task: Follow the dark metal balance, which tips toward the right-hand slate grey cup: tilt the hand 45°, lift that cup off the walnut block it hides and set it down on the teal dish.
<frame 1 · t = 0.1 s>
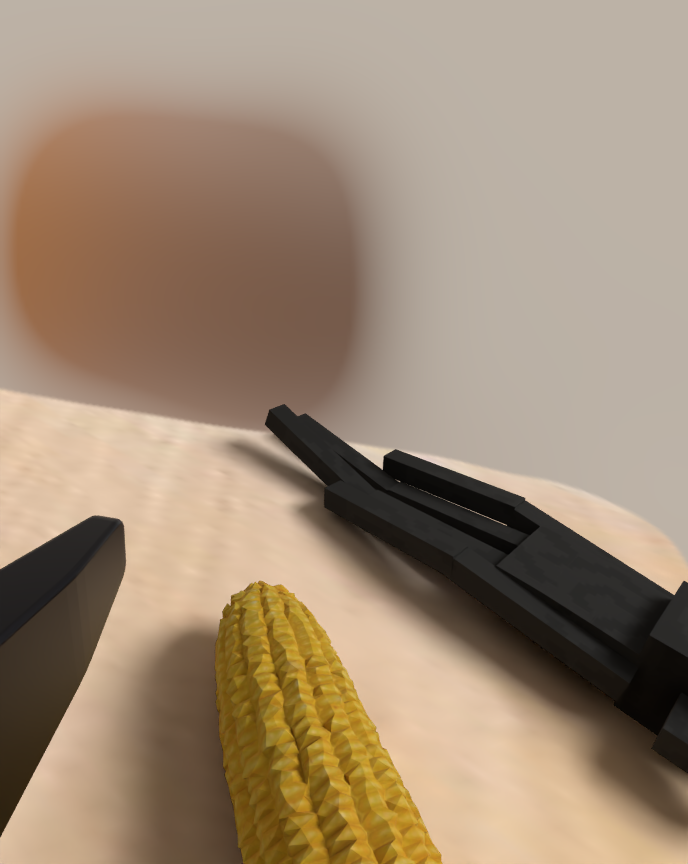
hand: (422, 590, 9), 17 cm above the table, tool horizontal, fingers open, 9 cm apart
toy: (463, 571, 35), on the table
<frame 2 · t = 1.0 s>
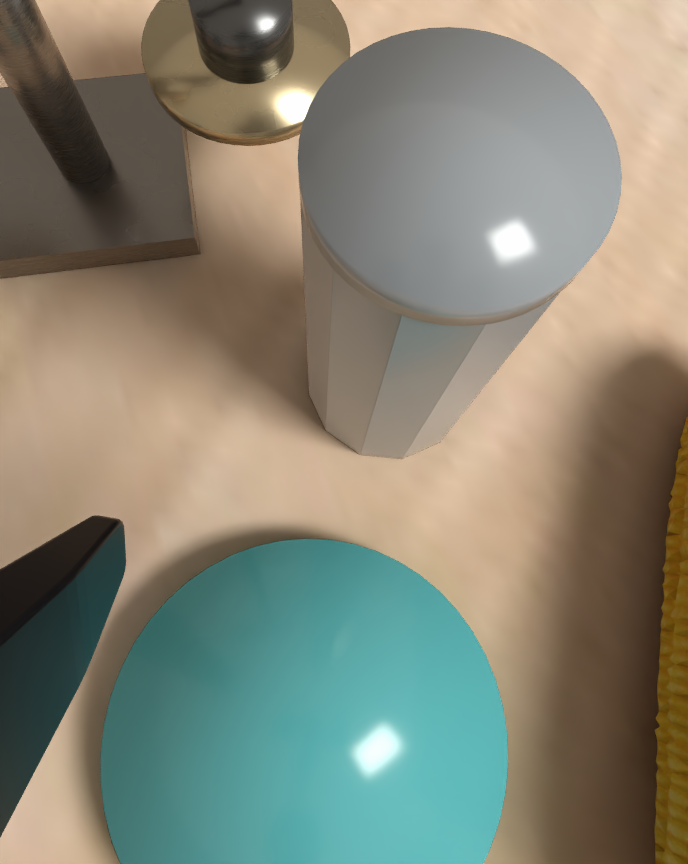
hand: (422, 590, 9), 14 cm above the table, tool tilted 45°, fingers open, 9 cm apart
balance: (94, 181, 26), on the table
cup a: (387, 382, 24), on the table
dish: (307, 735, 21), on the table
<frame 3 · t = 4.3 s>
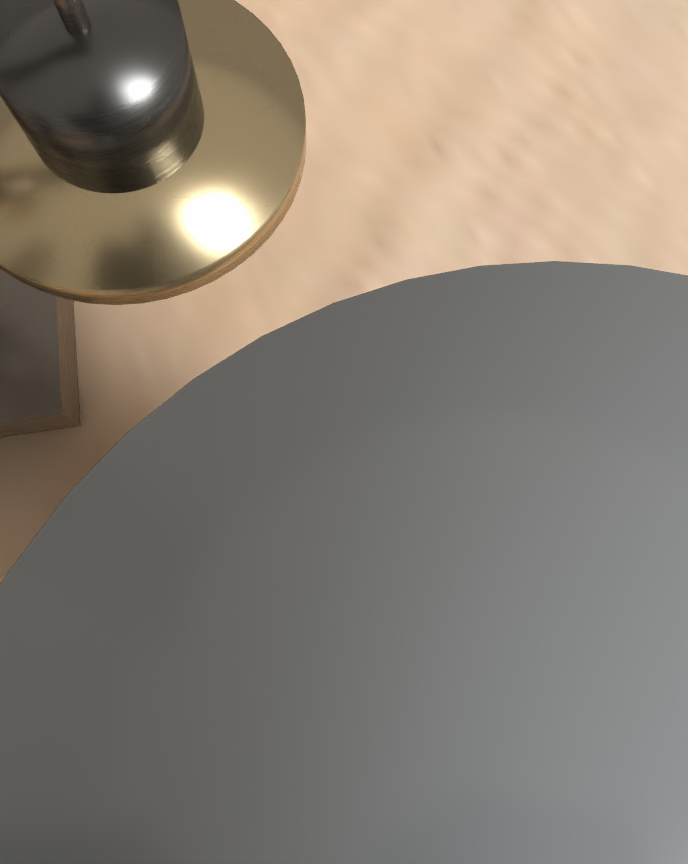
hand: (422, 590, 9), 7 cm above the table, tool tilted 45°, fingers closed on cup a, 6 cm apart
cup a: (372, 648, 15), on the table, touching gripper
when the fingers open (9 cm above the table, at t = 10.4 s): cup a drops 1 cm, resting on dish.
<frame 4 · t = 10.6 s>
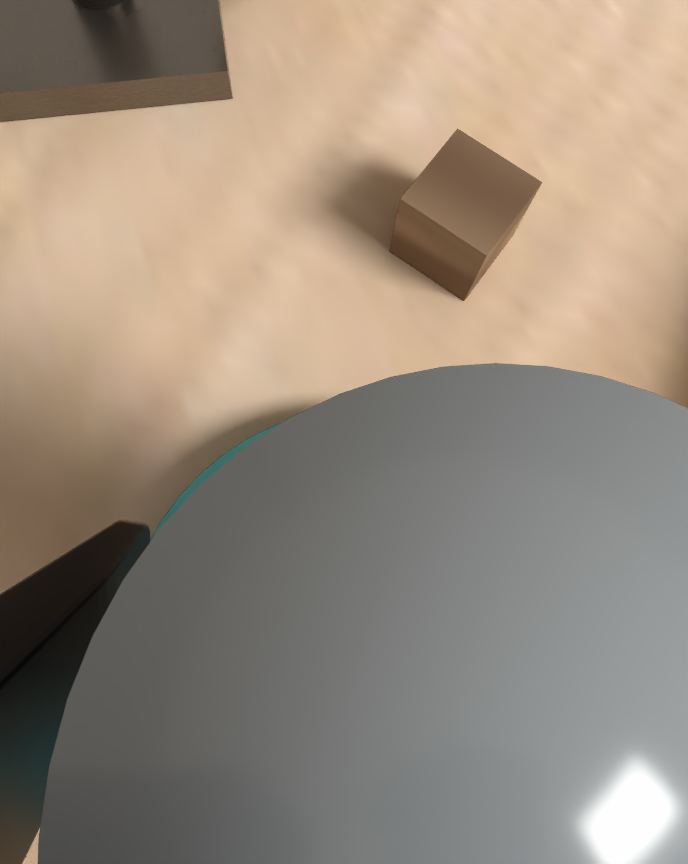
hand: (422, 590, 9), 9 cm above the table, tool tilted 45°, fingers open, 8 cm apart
balance: (109, 17, 23), on the table
block: (450, 244, 21), on the table
cup a: (368, 643, 17), point 1 cm above the table, touching dish
dish: (364, 639, 18), on the table
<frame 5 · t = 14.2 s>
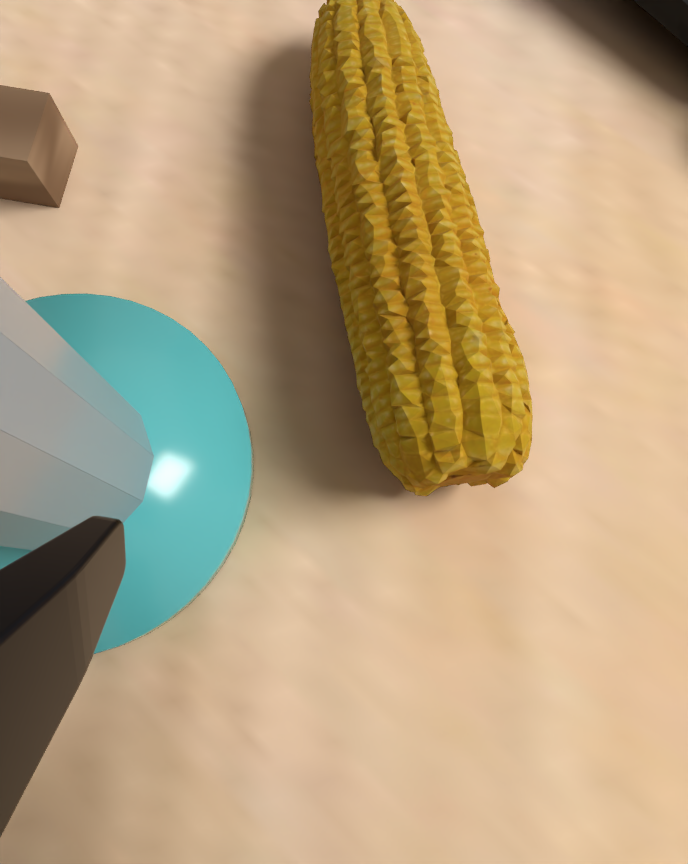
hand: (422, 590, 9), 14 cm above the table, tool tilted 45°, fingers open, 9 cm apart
block: (34, 172, 26), on the table
cup a: (63, 464, 22), point 1 cm above the table, touching dish
food: (388, 262, 26), on the table
dish: (76, 470, 23), on the table
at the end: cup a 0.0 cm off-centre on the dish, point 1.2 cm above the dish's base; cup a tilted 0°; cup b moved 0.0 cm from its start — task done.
